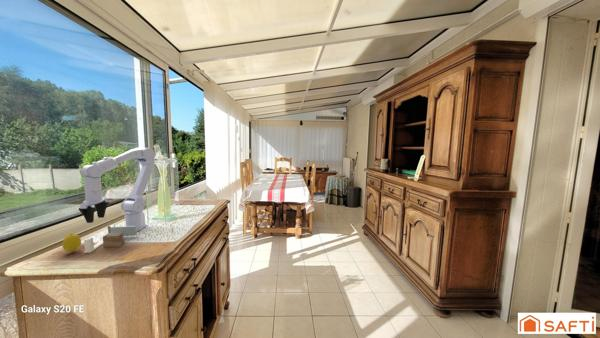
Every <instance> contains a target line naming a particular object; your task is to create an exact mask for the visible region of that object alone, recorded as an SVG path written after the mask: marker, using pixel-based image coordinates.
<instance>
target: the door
mask: <svg viewBox="0 0 600 338" xmlns="http://www.w3.org/2000/svg"><path fill="white" fill-rule="evenodd" d="M121 232H123V234H124V237H131V236H132V237H133V236H138V231H137V226H126V225H124V226H122V225H121V226H115V227H110V225H108V226H107V234H108V233H121Z"/></svg>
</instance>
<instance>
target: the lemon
mask: <svg viewBox="0 0 600 338" xmlns="http://www.w3.org/2000/svg"><path fill="white" fill-rule="evenodd" d="M61 245H62V249H63V250H64V251H66V252H68V253H69V252H70V253H75V252H76V251H77V250H78V249H80V247H81V246H82V239H81V237H80V235H78V234H74V233H70V234H68V235H66V236H65V237H64V238H63V239H62V243H61Z"/></svg>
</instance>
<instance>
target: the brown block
mask: <svg viewBox="0 0 600 338" xmlns="http://www.w3.org/2000/svg"><path fill="white" fill-rule="evenodd" d="M102 240H103V245H102V246H103V248H114V247H115V248H118V247H120V246H122V245H123V244H124V243H125V236H124V234H123V232H121V233H108V232H107V233H106V234H105V235H103V236H102Z"/></svg>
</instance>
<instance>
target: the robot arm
mask: <svg viewBox="0 0 600 338" xmlns="http://www.w3.org/2000/svg"><path fill="white" fill-rule="evenodd" d="M156 155H157V154H156V153H155V150H154V149H153V148H151V147H135V148H131V149H130V150H127V151H126V152H123V153H121V154H119V155H117V156H115V157H111V156H105V157H102V159H101V160H99V161H93V162H92V164H87V165H86V164H85V165H84V166H83V167H81V170H80V171H79V173H80V175H81V176H82V177H83V185H84V196H85V197H84V198H85V200H83V201H82V203H80V204H79V208H78V211H79V212H80V213H81V214H82V215H83V217H84V219H85V222H86V223H87V224H92V223H94V220H95V212H96V215H97V218H98V219H99V218H100V219H101V218H105V215H106V212H107V211H106V210H107V207H108V206H109V204H110V201H108V200H107V196H103V192H102V191H103V189H102V180H101V177H102V176H103V174H105V173H107V172H109V171H111V170H113V169H115V168H117V167H118V164H121V163H123V162H126V161H129V160H131V159H133V158H134V159H135V160H136V161H137V162H139V164H140V165H141V168H140V171H139V172H138V174H137V177H136V180H135V182H134V185H133V187H132V190H131V192H130V193H129V194H128V195H127V196H126V197H125V199H124V200H123V201H122V203H121V205H120V208H121V210H122V211H124V220H125V226H137V232H138V231H141V230H142V229H143V228H146V226H148V224H147V223H146V217H145V215H146V214H145V212H144V209H145V201H146V199H145V197H144V194H145V192H146V189H147V186H148V184H149V182H150V179H151V176H152V173H153V171H154V168H155V158H156ZM92 206H94V207H92Z"/></svg>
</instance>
